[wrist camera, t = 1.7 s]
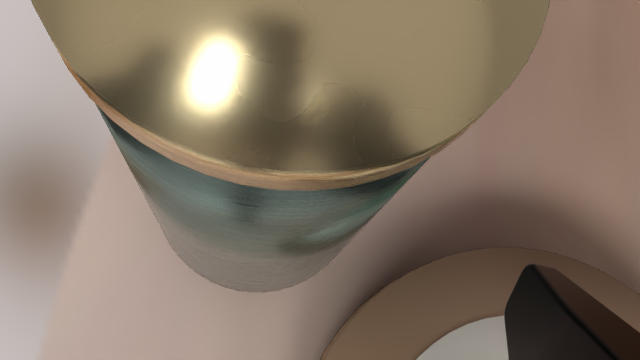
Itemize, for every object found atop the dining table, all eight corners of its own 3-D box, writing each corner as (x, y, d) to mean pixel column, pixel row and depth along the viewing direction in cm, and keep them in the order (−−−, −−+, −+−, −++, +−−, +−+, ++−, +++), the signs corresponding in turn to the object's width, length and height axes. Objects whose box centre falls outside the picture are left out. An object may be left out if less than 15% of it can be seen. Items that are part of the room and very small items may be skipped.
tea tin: (380, 272, 20) (623, 123, 7) (169, 315, 18) (42, 221, 6) (335, 84, 22) (472, -288, 9) (139, 112, 20) (-6, -279, 8)
